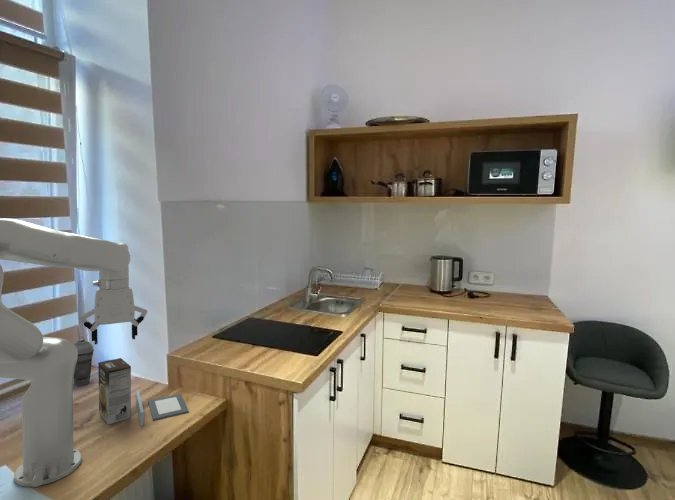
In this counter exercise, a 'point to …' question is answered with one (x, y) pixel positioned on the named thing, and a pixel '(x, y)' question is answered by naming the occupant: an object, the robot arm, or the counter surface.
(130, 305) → the robot arm
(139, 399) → the acrylic wall
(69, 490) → the counter surface
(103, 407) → the coffee box
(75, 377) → the beverage cup
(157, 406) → the mat
